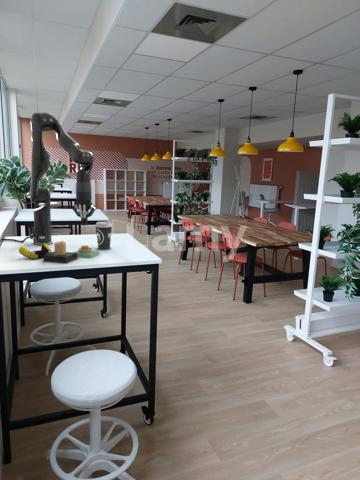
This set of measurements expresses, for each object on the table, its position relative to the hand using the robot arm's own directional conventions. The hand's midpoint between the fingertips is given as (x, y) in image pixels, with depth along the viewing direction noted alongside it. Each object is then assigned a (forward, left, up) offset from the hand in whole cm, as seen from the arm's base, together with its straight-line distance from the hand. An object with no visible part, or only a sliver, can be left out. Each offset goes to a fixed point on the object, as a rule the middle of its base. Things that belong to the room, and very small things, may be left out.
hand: (84, 225), depth 173 cm
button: (0, 0, -13) cm, 13 cm away
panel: (-6, -13, -16) cm, 21 cm away
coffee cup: (+2, +18, -16) cm, 24 cm away
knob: (-6, -13, -13) cm, 19 cm away
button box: (0, 0, -16) cm, 16 cm away
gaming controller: (-20, -11, -16) cm, 28 cm away
